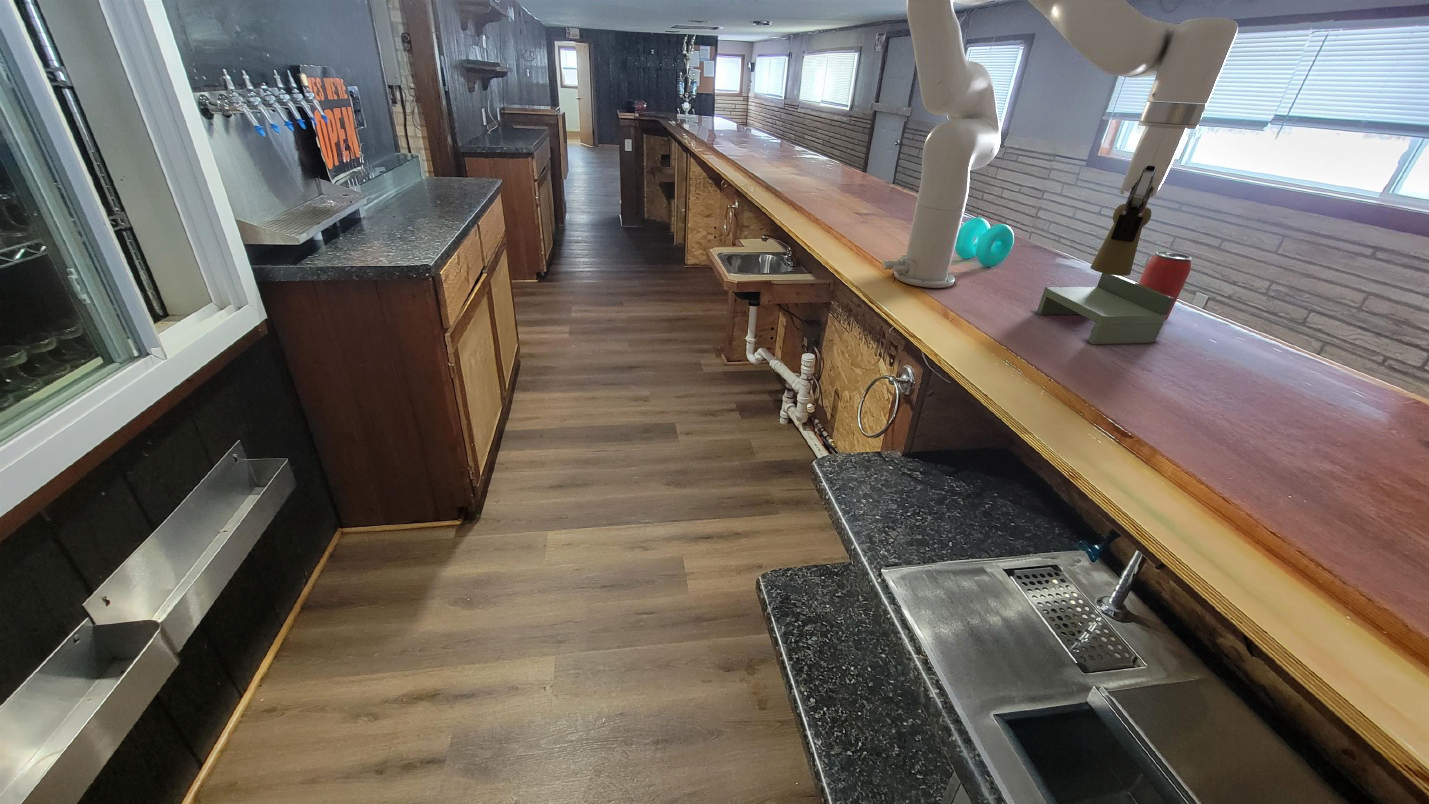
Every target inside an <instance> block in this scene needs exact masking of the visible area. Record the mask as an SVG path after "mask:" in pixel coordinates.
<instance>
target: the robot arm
mask: <svg viewBox="0 0 1429 804" xmlns="http://www.w3.org/2000/svg"><path fill="white" fill-rule="evenodd" d="M992 1H994V0H906V16H907V17H906V18H907V23H908V27H909V32H910V36H911V42H912V47H913V53H914V61H915V67H916V72H917V79H918V84H919V90H920V96H921V102H922V104H923V107H924V108H925V110H926V111H927V112H928V113H930V114H933V115H937V116H948V120H945V121H943V122H941V123H939V124H937V125H936V126H935V127H933V129H932V130H930V133H929V134H928V135H927V137H926V139H925V142H924V144H923V147H922V148H923V149H922V157H921V175H920V182H919V189H918V193H917V199H916V204H915V208H914V213H913V217H912V223H911V227H910V232H909V237H908V241H907V246H906V251H905V254H902V255H900V257H899V258H898V259H896V260H883V261H882V263H881V268H882V270H885V271H886V270H892V272H893V273H894V274H893V276H894V278H895V279H896V280H897V281H900V282H902V283H903V284H904V283H905V284H907V285H911V286H915V287H920V288H921V287H922V288H931V289H942V288H948V287H951V286H953V285H954V284H955V279H956V277H954V275H952V274H951V273H950V270H951V269H950V268H951V264H952V261H953V255H954V253H955V245H956V241H957V237H958V233H959V229H960V228H961V226H962V221H963V217H964V214H965V210H966V205H967V201H968V196H969V190H970V172H971V171H973V170H977V169H978V170H979V169H981V168H983V167H986V166H987V165H988V164H989V163H991V162H992V161H993V160H994V159H995V157H996V156H997V154H998V152H999V149H1000V145H1001V140H1002V139H1001V137H1002V136H1001V125H1000V120H999V119H1000V118H999V111H998V105H997V98H996V92H995V86H994V82H993V78H992V76H991V74H990V72H989V70H988V69H987V67H985V66H984V65H983V64H981V63H979V62H977V61H972V60H968V59H967V56H966V52H965V47H964V42H963V35H962V33H963V32H962V29H961V25H960V22H959V20H958V17H957V14H956V12H955V9H954V3H957V4H960V5H965V6H973V5H981V4H985V3H989V2H992ZM1026 1H1027V2H1028V3H1030V5H1032V6H1033V7H1034V8H1035V9H1036V10H1037V11H1038V12H1039V13H1040V14H1042V15H1043V16H1044V17H1045V18H1046V19H1047V20H1048V21H1049V23H1050V24H1051V26H1052V27H1053V28H1055V29H1056V31H1058V33H1059V34H1060V35H1061V37H1063V38H1064V40H1065V41H1067V42H1068V43H1069V44H1070V45H1071V46H1072V47H1073V48H1074V49H1075V50H1076V51H1077V52H1078V53H1079V54H1081V55H1082V56H1083V57H1084V58H1085V59H1087V61H1088V62H1090V63H1091V64H1092V65H1093V66H1094V67H1095V68H1097V69H1098V70H1099V71H1101V72H1103V73H1105V74H1107V75H1110V76H1117V77H1118V76H1119V77H1123V78H1131V79H1133V78H1135V79H1137V78H1145V77H1146V78H1147V77H1153V76H1154V77H1155V78H1154V81H1153V83H1152V86H1151V89H1150V91H1149V94H1148V97H1147V99H1146V102H1145V105H1144V108H1143V110H1142V113H1141V115H1140V118H1139V120H1138V123H1137V126H1141V127H1144V129H1143V131H1142V134H1141V136H1140V138H1139V140H1138V143H1137V145H1136V146H1135V150H1134V153H1133V155H1132V158H1131V160H1130V162H1129V166H1128V168H1127V171H1126V174H1125V175H1124V176H1125V177H1124V179H1123V182H1122V184H1121V187H1120V189H1119V193H1120V194H1121V195H1124V194H1125V193H1126V192H1127V193H1129V194H1128V196H1127V200H1126V202H1125V203H1124V204H1125V207H1124V209H1123V212H1122V214H1120V215H1119V218H1118V220H1117V223H1116V226H1115V228H1114V231H1113V233H1112V236H1111V239H1112V240H1118V241H1125V242H1133V241H1134V239H1135V237H1136V234H1137V232H1138V229H1139V227H1140V224H1141V222H1142V219H1143V217H1142V215H1143V212H1144V210H1145V207H1146V206H1147V205H1148V202H1149V200H1150V199H1151V198H1154V197H1156V195H1157V194H1158V192H1159V190H1160V188H1161V187H1162V184H1163V183H1164V181H1165V179H1166V177H1167V175H1168V173H1169V171H1170V169H1171V167H1172V164H1173V162H1174V160H1175V158H1176V155H1177V154H1178V151H1179V148H1180V146H1181V143H1182V142H1183V139H1184V137H1185V134H1186V131H1187V130H1197V129H1198V127H1199V124H1200V122H1201V120H1202V117H1203V115H1204V113H1205V110H1206V108H1207V106H1208V103H1209V101H1210V99H1211V96H1212V94H1213V92H1214V89H1215V86H1216V84H1217V82H1218V80H1219V77H1220V75H1221V73H1222V70H1223V67H1224V65H1225V63H1226V60H1227V58H1228V56H1229V53H1230V51H1231V48H1232V46H1233V44H1234V41H1235V39H1236V36H1237V34H1238V31H1239V25H1238V22H1237V21H1236V20H1234V19H1231V18H1225V17H1200V18H1199V17H1198V18H1190V19H1186V20H1183V21H1181V22H1180V23H1175V22H1174V23H1173V22H1165V21H1160V20H1157V19H1155V18H1152V17H1149V16H1146V15H1144V14H1143V13H1141V12H1140V11H1138V9H1136V8H1135V7H1133V6H1132V5H1131V4H1129V2H1128V1H1126V0H1026ZM1127 209H1128V210H1127ZM1140 209H1141V210H1140ZM1139 211H1140V212H1139ZM1125 214H1126V215H1125ZM1138 214H1139V215H1138Z"/></svg>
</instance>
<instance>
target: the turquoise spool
mask: <svg viewBox="0 0 1429 804" xmlns="http://www.w3.org/2000/svg"><path fill="white" fill-rule="evenodd" d="M1014 242H1015V236H1014V231H1013V229H1012V228H1011V227H1010V226H1009V225H1007V224H1004V223H997V224H994V225H992V226H991V225H990V224H989V222H988V221H987V220H986V219H984V218H983V217H979V216H978V217H972V218H970V219H968V220H966V221H965V222H964V223H963V224H961V225H960V229H959V233H958V237H957V241H956V245H955V249H954V252H955V253H956V255H957V256H958V257H960V258H962V259H964V260H971V259H974V258H976V259H977V262H979V264H981V265H982V266H983V267H986V268H993V267H996V266H998V265H1000V264H1002V262H1004V261H1005V260H1006V258H1008V256H1009V254H1010V253H1011V251H1012V249H1013V247H1014Z"/></svg>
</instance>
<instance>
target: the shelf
mask: <svg viewBox="0 0 1429 804" xmlns="http://www.w3.org/2000/svg"><path fill="white" fill-rule="evenodd" d="M1174 299H1175V298H1173V297H1170V296H1168V295H1165V294H1163V293H1160V292H1158V291H1155V290H1153V289H1150V288H1148V287H1145V286H1143V285H1140V284H1139V282H1135V281H1133V280H1130V279H1128V278H1125V277H1124V276H1118V275H1110V274H1105V273H1101V275H1100V277H1099V280H1098V282H1097V285H1096V286H1058V287H1057V286H1054V287H1053V286H1047V287H1046V286H1045V287H1044V288H1043V291H1042V295H1041V297H1040V300H1039V303H1038V306H1037V309H1036V313H1037V314H1039V315H1081V316H1083V317H1085V318H1086V319H1089V320H1091V321H1093V322H1095V323H1094V326H1093V328H1092V330H1091V333H1090V335H1089V338H1088V341H1087V342H1088V343H1090V344H1092V345H1108V344H1109V345H1110V344H1112V345H1113V344H1147V343H1148V344H1149V343H1151V344H1152V343H1155V342H1156V339H1157V337H1158V335H1159V334H1160V331H1161V329H1162V327H1163V325H1164V322H1165V321H1166V320H1165V318H1166V316H1167V314H1168V312H1169V309H1170V307H1171V305H1172V303H1173V301H1174ZM1164 320H1165V321H1164Z"/></svg>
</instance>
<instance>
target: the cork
mask: <svg viewBox="0 0 1429 804" xmlns="http://www.w3.org/2000/svg"><path fill="white" fill-rule="evenodd" d="M1125 204H1126V203H1122V204H1119V205H1118V206H1117V207H1116V208H1115V210H1114V211H1113V214H1112V222H1113V224H1112V226H1111V228H1110V230H1109V232H1108V233H1107V236H1106V237H1105V239H1104V241H1103V242H1102V244H1101V246H1100V248H1099V250H1098V252H1097V254H1096V255H1095V257H1094V260H1093V261H1092V263H1091V265H1090V267H1089V268H1090V269H1091V270H1093V271H1095V272H1098V273H1101V274H1102V273H1105V274H1110V275H1118V276H1120V277H1127V276H1130V275H1131V274H1132V269H1133V265H1134V261H1135V257H1136V254H1137V250H1138V245H1139V242H1140V238H1141V235H1142V230H1143V227H1145V226H1146V225H1148V223H1149V222H1150V220H1151V217H1152V214H1153V211H1152V208H1151V207H1149V206H1147V205H1146V207H1145V210H1144V212H1143V215H1142V217H1143V219H1142V222H1141V224H1140V227H1139V229H1138V232H1137V234H1136V237H1135V239H1134V241H1133V242H1125V241H1118V240H1112V239H1111V236H1112V233H1113V231H1114V228H1115V226H1116V223H1117V220H1118V218H1119V215H1120V214H1122V212H1123V209H1124V207H1125ZM1127 210H1128V209H1127ZM1140 210H1141V209H1140ZM1139 212H1140V211H1139ZM1125 215H1126V214H1125ZM1138 215H1139V214H1138Z"/></svg>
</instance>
